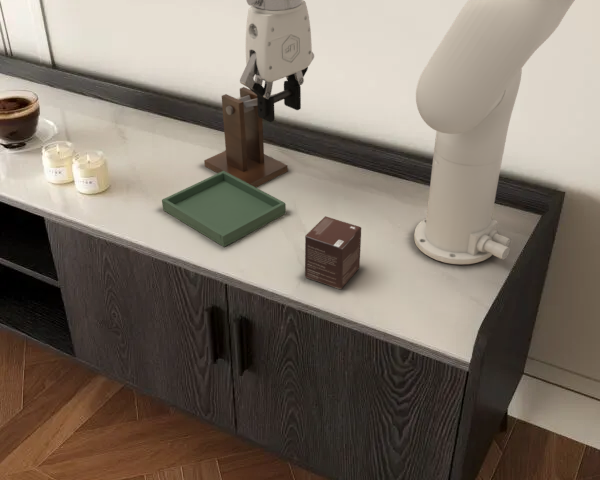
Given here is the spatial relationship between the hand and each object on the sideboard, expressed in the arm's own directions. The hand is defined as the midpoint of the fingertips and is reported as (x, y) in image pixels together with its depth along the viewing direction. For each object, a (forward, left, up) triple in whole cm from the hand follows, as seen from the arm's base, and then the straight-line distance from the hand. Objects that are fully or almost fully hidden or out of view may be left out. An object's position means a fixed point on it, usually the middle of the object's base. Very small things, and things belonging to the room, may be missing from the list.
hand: (279, 112), depth 121 cm
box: (-23, +12, -14) cm, 29 cm away
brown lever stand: (+9, 0, -14) cm, 16 cm away
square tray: (+1, +12, -14) cm, 18 cm away
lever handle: (+4, 0, -1) cm, 4 cm away
